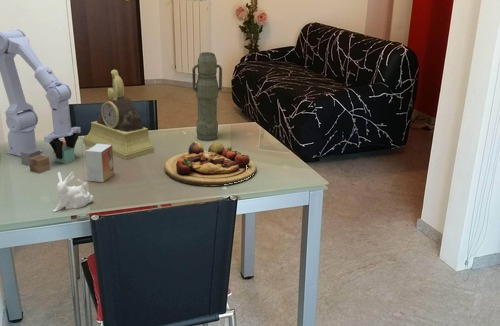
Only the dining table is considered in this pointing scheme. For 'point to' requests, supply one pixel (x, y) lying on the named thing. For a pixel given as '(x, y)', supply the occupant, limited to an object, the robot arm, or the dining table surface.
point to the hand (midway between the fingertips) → (65, 156)
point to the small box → (99, 162)
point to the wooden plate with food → (209, 165)
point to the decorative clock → (120, 125)
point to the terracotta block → (63, 142)
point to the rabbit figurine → (72, 194)
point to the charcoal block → (28, 155)
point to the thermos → (207, 95)
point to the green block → (66, 155)
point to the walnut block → (39, 164)
